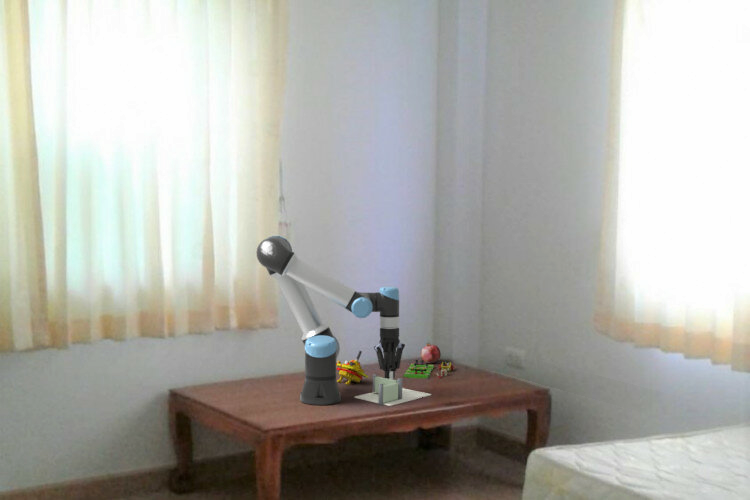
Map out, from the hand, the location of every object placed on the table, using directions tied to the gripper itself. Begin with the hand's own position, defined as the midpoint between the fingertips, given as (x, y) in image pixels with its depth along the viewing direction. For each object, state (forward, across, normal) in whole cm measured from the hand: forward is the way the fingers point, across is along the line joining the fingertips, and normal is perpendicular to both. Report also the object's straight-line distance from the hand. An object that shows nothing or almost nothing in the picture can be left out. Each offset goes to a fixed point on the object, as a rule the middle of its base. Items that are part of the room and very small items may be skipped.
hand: (389, 387), depth 352 cm
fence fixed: (+2, +7, +12) cm, 14 cm away
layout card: (+2, +2, +5) cm, 6 cm away
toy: (+2, +4, -23) cm, 24 cm away
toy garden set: (+3, -35, -24) cm, 43 cm away
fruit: (+3, -48, -42) cm, 64 cm away
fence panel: (+1, +4, +3) cm, 6 cm away
